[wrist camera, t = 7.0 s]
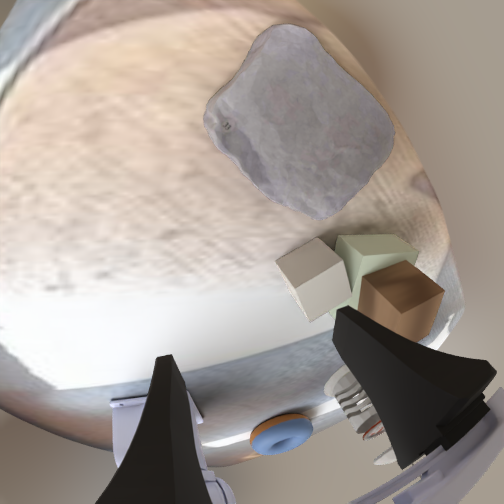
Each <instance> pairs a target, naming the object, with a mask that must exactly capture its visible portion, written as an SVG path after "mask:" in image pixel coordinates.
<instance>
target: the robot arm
mask: <svg viewBox="0 0 504 504" xmlns="http://www.w3.org/2000/svg"><path fill="white" fill-rule="evenodd" d="M332 341H333V343H334V345H335V347H336V349H337V351H338V353H339V354H340V356H341V358H342V360H343V361H344V363H345V364H346V365H347V367H348V368H349V370H350V371H351V373H352V374H353V375H354V377H355V378H356V380H357V381H358V382H359V384H360V385H361V387H362V388H363V390H364V391H365V392H366V394H367V395H368V397H369V399H370V400H371V402H372V404H373V406H374V408H375V410H376V412H377V414H378V416H379V418H380V420H381V422H382V424H383V426H384V428H385V430H386V433H387V435H388V437H389V440H390V442H391V445H392V448H393V450H394V453H395V456H396V459H397V462H398V464H399V466H400V468H401V469H402V470H403V469H404V468H406V467H407V466H409V465H410V464H412V463H413V462H414V461H416V460H417V459H419V458H420V457H422V456H423V455H424V454H425V455H426V457H424V458H423V459H422V460H420V461H419V462H417V463H416V464H415V465H413V466H412V467H410V468H409V469H407V470H406V471H404V472H403V473H401V474H400V475H398V476H396V477H395V478H393V479H392V480H390V481H388V482H386V483H385V484H383V485H381V486H380V487H378V488H376V489H374V490H372V491H371V492H369V493H367V494H365V495H363V496H361V497H359V498H357V499H355V500H353V501H351V502H349V503H347V504H375V503H377V502H379V501H381V500H383V499H384V498H386V497H388V496H389V495H391V494H392V493H394V492H396V491H397V490H399V489H401V488H402V487H404V486H405V485H407V484H408V483H410V482H411V481H413V480H414V479H416V478H417V477H419V476H420V475H421V474H422V476H421V480H420V481H418V482H417V483H415V484H413V485H412V486H410V487H408V488H407V489H405V490H404V491H402V492H401V493H400V494H398V495H397V496H395V497H394V498H393V499H392V500H393V501H394V503H395V504H458V503H459V502H460V501H461V500H462V499H463V498H464V497H465V496H466V495H467V494H468V492H469V491H470V490H471V489H472V488H473V487H474V486H475V484H476V483H477V482H478V481H479V480H480V478H481V477H482V476H483V475H484V473H485V472H486V471H487V470H488V468H489V467H490V466H491V464H492V463H493V461H494V460H495V459H496V457H497V456H498V455H499V453H500V452H501V450H502V449H503V447H504V390H503V388H502V387H500V388H499V389H498V390H497V391H496V392H495V394H494V395H493V396H492V397H491V398H490V399H489V400H488V401H487V403H485V402H484V401H483V399H484V398H485V396H484V394H483V393H482V392H483V391H484V390H485V388H486V387H487V386H488V385H489V383H490V382H491V381H492V380H493V378H494V377H495V375H496V373H497V371H496V370H495V369H494V368H493V367H492V366H491V365H490V363H489V362H488V361H486V360H480V359H471V358H464V357H459V356H455V355H451V354H446V353H443V352H440V351H437V350H434V349H431V348H428V347H426V346H423V345H421V344H418V343H416V342H413V341H411V340H409V339H407V338H405V337H403V336H401V335H399V334H397V333H395V332H393V331H391V330H390V329H388V328H386V327H384V326H382V325H381V324H379V323H377V322H376V321H374V320H372V319H371V318H369V317H367V316H366V315H364V314H362V313H361V312H359V311H357V310H356V309H354V308H352V307H351V306H349V305H347V306H345V307H342V308H339V309H337V311H336V319H335V326H334V332H333V339H332ZM110 406H111V407H112V408H113V452H114V457H115V461H116V464H117V466H118V469H117V471H116V473H115V475H114V476H113V478H112V480H111V481H110V483H109V484H108V486H107V487H106V489H105V490H104V492H103V493H102V495H101V496H100V497H99V499H98V500H97V501H96V503H95V504H236V500H235V497H234V494H233V492H232V490H231V488H230V487H229V485H228V484H227V483H226V482H224V481H223V480H222V479H221V478H215V475H214V472H213V471H208V469H207V465H206V461H205V457H204V453H203V449H202V445H201V441H200V436H199V432H198V427H197V424H200V423H203V418H202V416H201V415H200V413H199V411H198V409H197V407H196V405H195V403H194V401H193V400H192V398H191V396H190V394H189V392H188V391H187V390H186V385H185V382H184V380H183V378H182V376H181V373H180V371H179V369H178V367H177V365H176V363H175V360H174V358H173V356H172V354H170V355H165V356H160V357H157V358H156V361H155V366H154V371H153V376H152V380H151V384H150V388H149V392H148V395H147V396H146V397H140V398H132V399H125V400H116V401H111V402H110Z"/></svg>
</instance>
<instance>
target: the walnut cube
mask: <svg viewBox="0 0 504 504" xmlns="http://www.w3.org/2000/svg"><path fill="white" fill-rule="evenodd" d="M444 292H445V290H444V289H443V288H441V287H440V286H439V285H438V284H436V283H435V282H434V281H433V280H431V279H430V278H429V277H428V276H426V275H425V274H424V273H423V272H421V271H420V270H419V269H417V268H416V267H415V266H413V265H412V264H411V263H410V262H408V261H407V260H404V261H401V262H399V263H396V264H394V265H391V266H388V267H386V268H383V269H380V270H378V271H375V272H372V273H370V274H367V275H364V276H362V281H361V288H360V296H359V303H358V309H357V311H359V312H361V313H362V314H364V315H366V316H367V317H369V318H371V319H372V320H374V321H376V322H377V323H379V324H381V325H382V326H384V327H386V328H388V329H390V330H391V331H393V332H395V333H397V334H399V335H401V336H403V337H405V338H407V339H409V340H411V341H413V342H418V341H419V340H421V339H423V338H424V337H426V336H427V335H429V332H430V330H431V327H432V325H433V322H434V320H435V317H436V315H437V312H438V309H439V306H440V304H441V301H442V298H443V295H444Z"/></svg>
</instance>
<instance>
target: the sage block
mask: <svg viewBox="0 0 504 504" xmlns="http://www.w3.org/2000/svg"><path fill="white" fill-rule="evenodd" d="M334 252H335V253H336V254H337V255H338V256H339V257H340V258H341V259H343V262H344V265H345V269H346V273H347V277H348V281H349V285H350V289H351V293H352V297H351V298H349V299H347V300H346V301H344V302H343V303H341V304H340V305H338V306H336V307H335V308H333V309H332V310H330V311H328V312H329V313H330V314H331V316H332V317H333V318H334V319H336V311H337V309H339V308H342V307H345V306H347V305H349V306H351V307H352V308H354V309H356V310H357V309H358V303H359V296H360V288H361V281H362V276H364V275H367V274H370V273H372V272H375V271H378V270H380V269H383V268H386V267H388V266H391V265H394V264H396V263H399V262H401V261H404V260H407V261H408V262H410V263H411V264H412V265H413V266H414V265H415V262H416V259H417V256H418V253H419V251H418V250H417V249H415V248H414V247H412V246H411V245H410V244H408V243H407V242H405V241H404V240H402V239H401V238H399V237H398V236H396V235H395V234H367V235H338V237H337V241H336V245H335V250H334Z"/></svg>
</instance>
